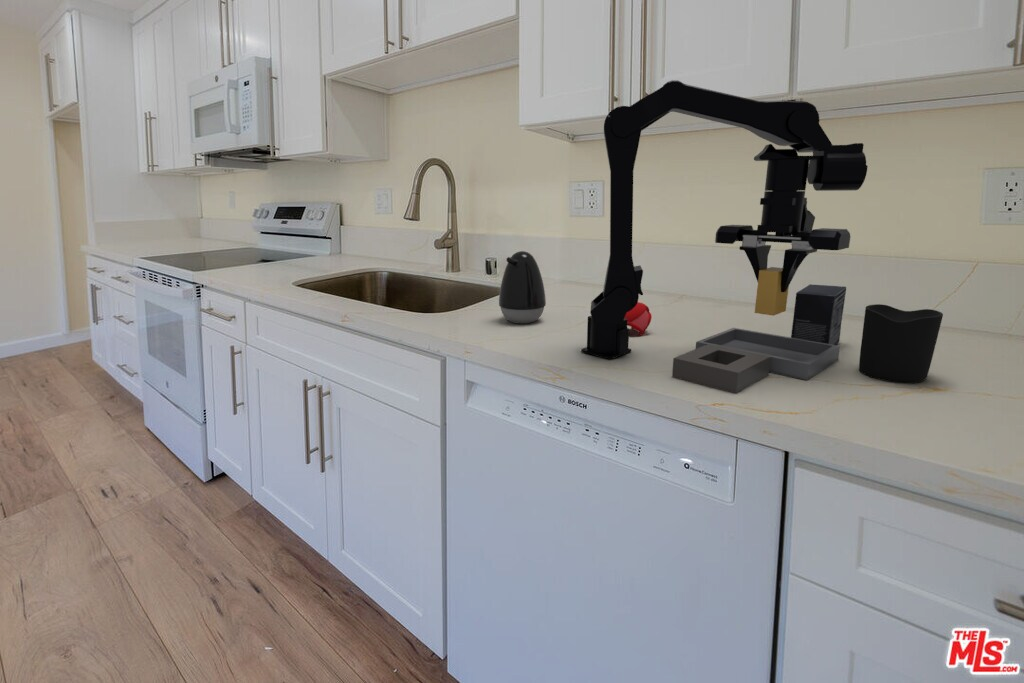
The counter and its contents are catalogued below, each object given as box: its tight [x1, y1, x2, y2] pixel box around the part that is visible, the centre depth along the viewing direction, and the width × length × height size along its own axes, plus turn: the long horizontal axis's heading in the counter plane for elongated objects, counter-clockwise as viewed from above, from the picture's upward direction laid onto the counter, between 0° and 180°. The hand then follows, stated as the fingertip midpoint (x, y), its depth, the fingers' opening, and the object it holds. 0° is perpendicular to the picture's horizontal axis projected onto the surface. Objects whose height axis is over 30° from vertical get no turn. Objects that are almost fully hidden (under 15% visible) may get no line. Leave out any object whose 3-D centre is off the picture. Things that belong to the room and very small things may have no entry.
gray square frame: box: [671, 344, 771, 394], centre depth 84 cm, size 10×11×3 cm
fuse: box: [754, 266, 790, 317], centre depth 89 cm, size 3×5×7 cm, turn 134°
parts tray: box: [695, 327, 841, 381], centre depth 92 cm, size 18×14×2 cm
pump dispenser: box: [498, 250, 547, 324], centre depth 119 cm, size 10×10×15 cm
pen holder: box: [858, 303, 944, 384], centre depth 83 cm, size 9×9×10 cm
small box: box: [790, 284, 847, 345], centre depth 98 cm, size 11×6×10 cm, turn 141°
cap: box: [624, 301, 653, 336], centre depth 109 cm, size 8×6×6 cm
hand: (772, 290), depth 89 cm, fingers closed on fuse, 3 cm apart
